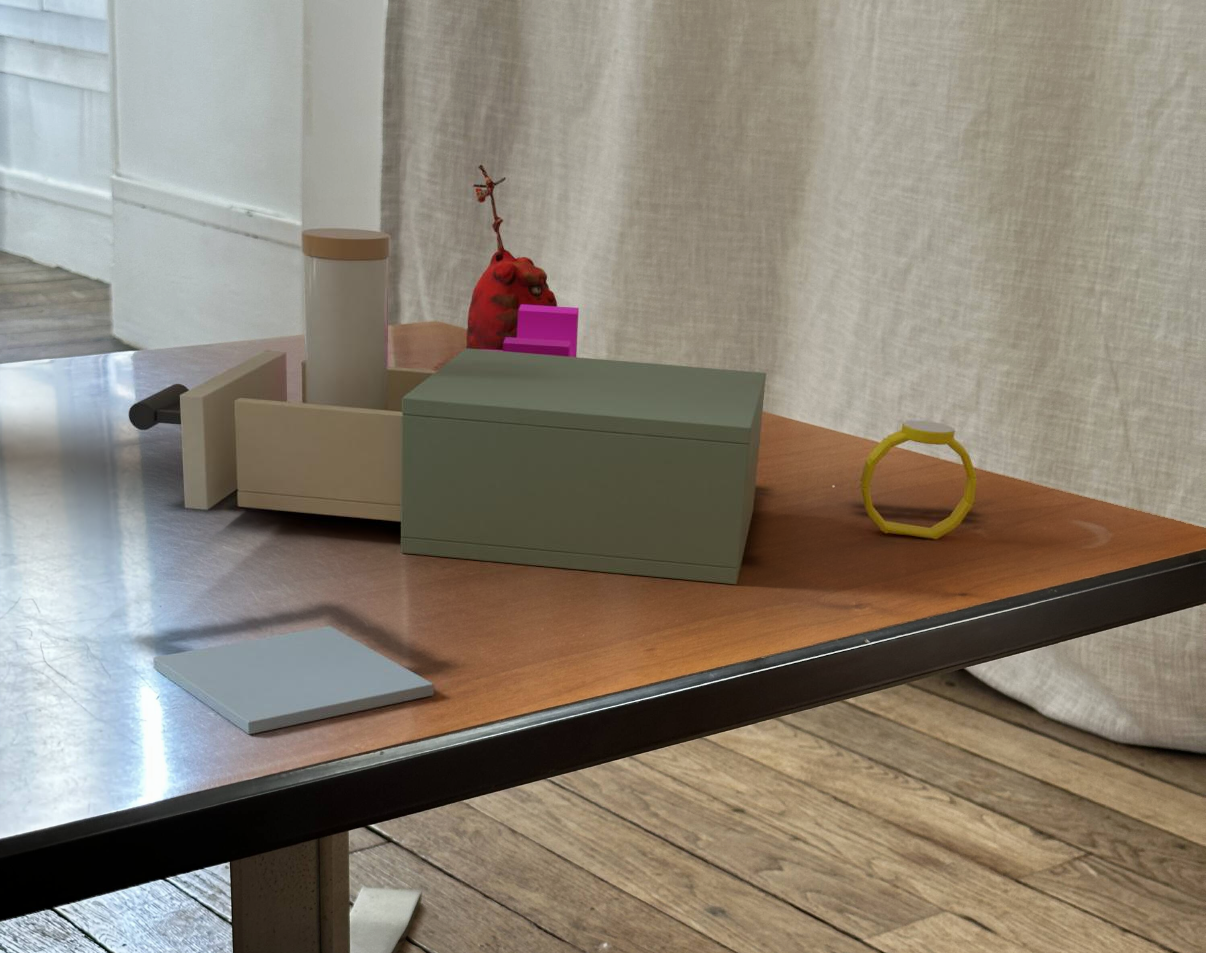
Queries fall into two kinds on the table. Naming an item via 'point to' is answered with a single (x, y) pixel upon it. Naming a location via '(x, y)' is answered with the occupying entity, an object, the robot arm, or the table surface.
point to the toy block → (545, 331)
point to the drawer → (284, 442)
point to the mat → (291, 678)
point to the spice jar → (346, 317)
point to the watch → (929, 435)
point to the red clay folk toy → (503, 289)
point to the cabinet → (582, 464)
